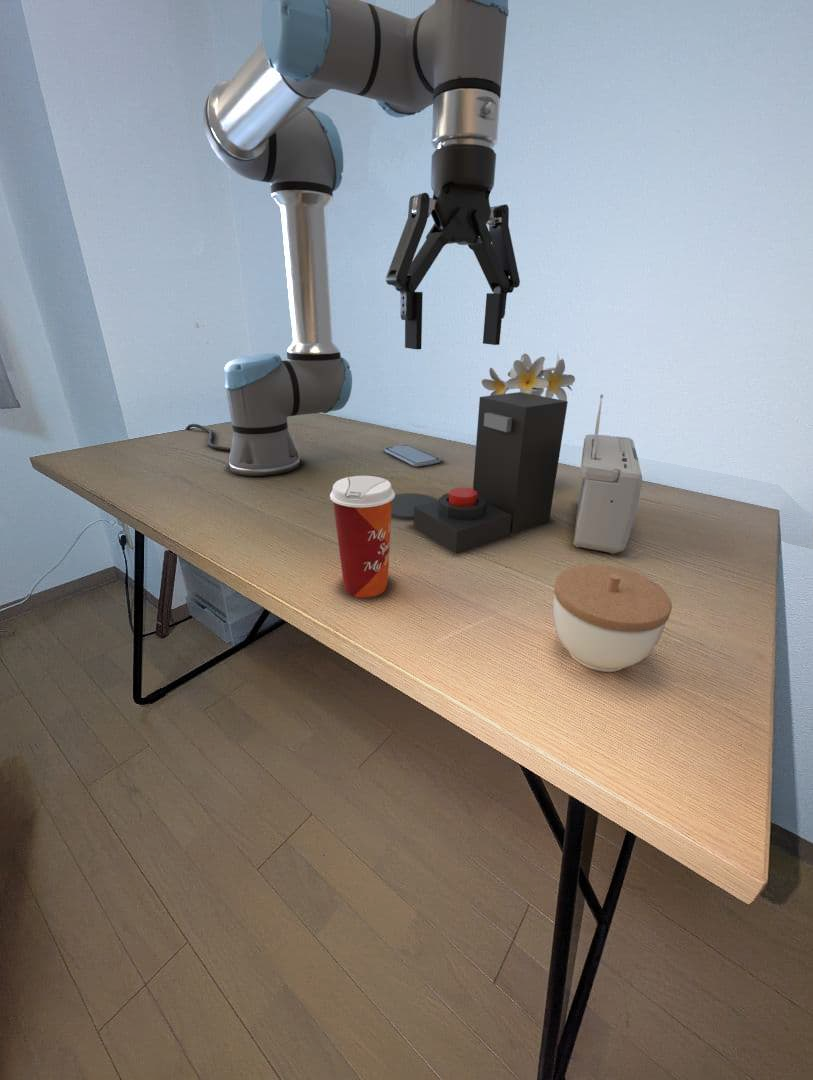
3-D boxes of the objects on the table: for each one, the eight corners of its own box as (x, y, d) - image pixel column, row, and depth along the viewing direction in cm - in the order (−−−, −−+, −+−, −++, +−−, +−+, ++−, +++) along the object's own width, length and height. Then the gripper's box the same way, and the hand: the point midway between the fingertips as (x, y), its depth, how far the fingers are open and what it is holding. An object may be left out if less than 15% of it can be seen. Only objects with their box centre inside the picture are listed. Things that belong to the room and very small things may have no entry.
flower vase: (465, 484, 97) (474, 354, 85) (524, 468, 107) (538, 349, 96) (514, 503, 87) (531, 360, 76) (573, 483, 98) (596, 354, 86)
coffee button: (442, 501, 75) (443, 490, 74) (464, 495, 77) (464, 485, 76) (460, 510, 71) (461, 499, 71) (482, 504, 74) (483, 493, 73)
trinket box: (539, 672, 47) (553, 593, 43) (550, 613, 56) (562, 543, 52) (657, 701, 44) (684, 618, 40) (648, 634, 53) (670, 561, 49)
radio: (625, 560, 68) (659, 421, 59) (566, 550, 71) (590, 415, 62) (620, 508, 86) (645, 395, 77) (573, 502, 88) (592, 392, 79)
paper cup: (387, 605, 57) (386, 498, 51) (327, 598, 59) (319, 493, 52) (401, 574, 64) (401, 476, 58) (347, 568, 66) (341, 471, 59)
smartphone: (416, 464, 106) (382, 448, 117) (415, 468, 106) (383, 451, 118) (442, 459, 110) (407, 444, 121) (442, 462, 110) (407, 447, 121)
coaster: (369, 503, 87) (369, 500, 87) (418, 492, 92) (418, 489, 92) (401, 524, 79) (402, 521, 78) (453, 510, 84) (453, 507, 84)
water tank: (466, 514, 83) (474, 397, 74) (507, 502, 88) (519, 391, 79) (507, 534, 75) (521, 407, 67) (549, 521, 80) (568, 401, 72)
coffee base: (413, 527, 78) (414, 496, 75) (464, 513, 83) (466, 483, 81) (455, 553, 70) (457, 519, 67) (509, 536, 75) (513, 504, 73)
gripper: (389, 120, 46) (391, 353, 56) (561, 159, 58) (538, 344, 68) (353, 139, 51) (360, 347, 61) (517, 171, 64) (501, 340, 73)
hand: (454, 346), depth 65 cm, fingers open, 13 cm apart
